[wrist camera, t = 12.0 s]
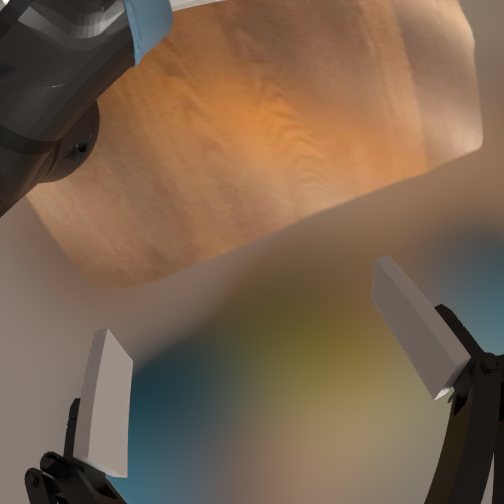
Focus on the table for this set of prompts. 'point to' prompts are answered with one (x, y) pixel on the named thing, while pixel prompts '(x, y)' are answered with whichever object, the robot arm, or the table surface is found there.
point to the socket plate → (188, 3)
